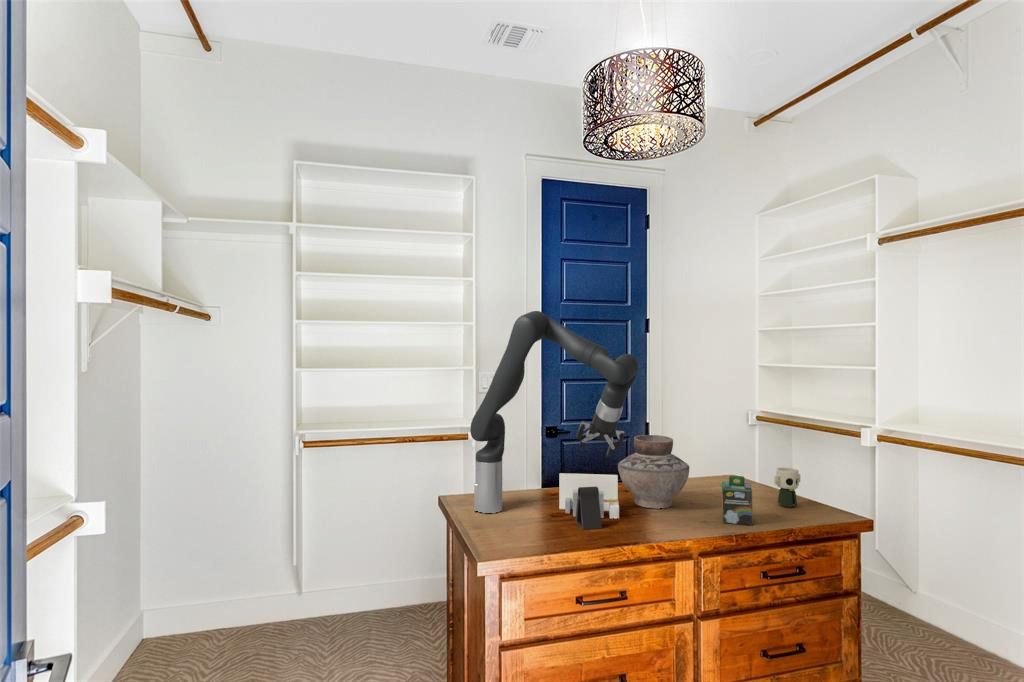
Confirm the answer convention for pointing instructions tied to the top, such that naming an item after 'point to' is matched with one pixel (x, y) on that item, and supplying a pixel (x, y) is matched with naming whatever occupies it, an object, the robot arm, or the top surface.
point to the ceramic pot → (653, 472)
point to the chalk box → (737, 501)
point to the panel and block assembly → (589, 480)
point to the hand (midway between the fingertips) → (594, 452)
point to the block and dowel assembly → (601, 502)
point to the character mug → (787, 485)
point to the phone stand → (588, 508)
